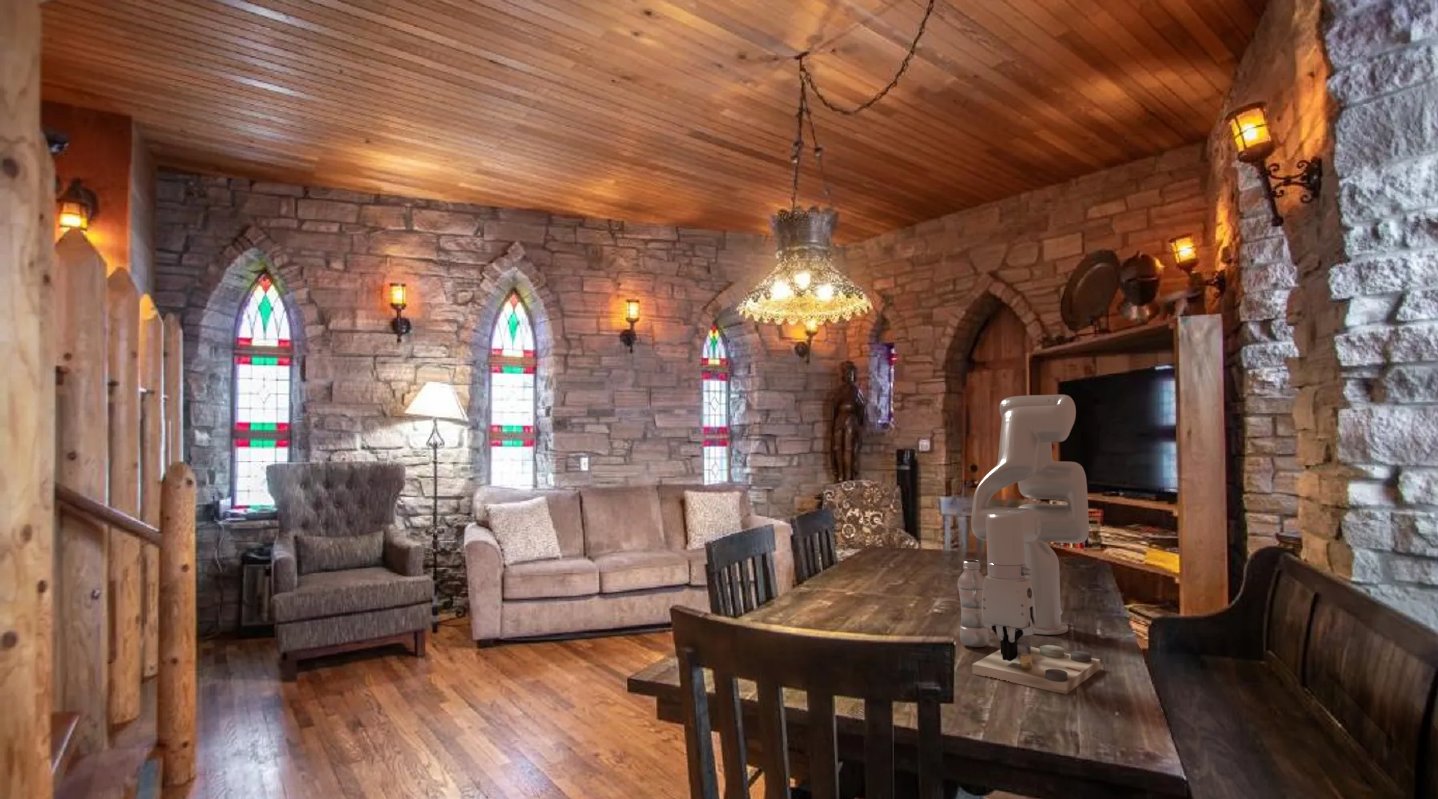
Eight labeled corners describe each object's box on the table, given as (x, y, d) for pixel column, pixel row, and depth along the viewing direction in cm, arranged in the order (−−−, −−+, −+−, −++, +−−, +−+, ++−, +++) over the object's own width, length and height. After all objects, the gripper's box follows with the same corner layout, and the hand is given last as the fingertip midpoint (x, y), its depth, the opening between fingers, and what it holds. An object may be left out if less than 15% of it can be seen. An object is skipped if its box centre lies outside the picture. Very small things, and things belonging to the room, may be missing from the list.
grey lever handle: (1005, 648, 170) (1004, 635, 170) (1029, 649, 169) (1028, 636, 169) (1013, 670, 155) (1013, 655, 156) (1040, 671, 154) (1039, 656, 154)
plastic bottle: (991, 650, 176) (988, 563, 177) (960, 649, 178) (958, 563, 179) (987, 643, 183) (984, 558, 183) (958, 642, 184) (955, 558, 185)
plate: (1011, 652, 175) (1011, 637, 175) (1100, 669, 162) (1099, 653, 162) (972, 673, 161) (972, 657, 161) (1066, 694, 148) (1065, 676, 148)
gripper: (1049, 572, 158) (1052, 662, 158) (981, 564, 169) (983, 648, 169) (1034, 578, 153) (1037, 671, 153) (964, 569, 164) (967, 656, 163)
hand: (1009, 659), depth 161 cm, fingers closed
